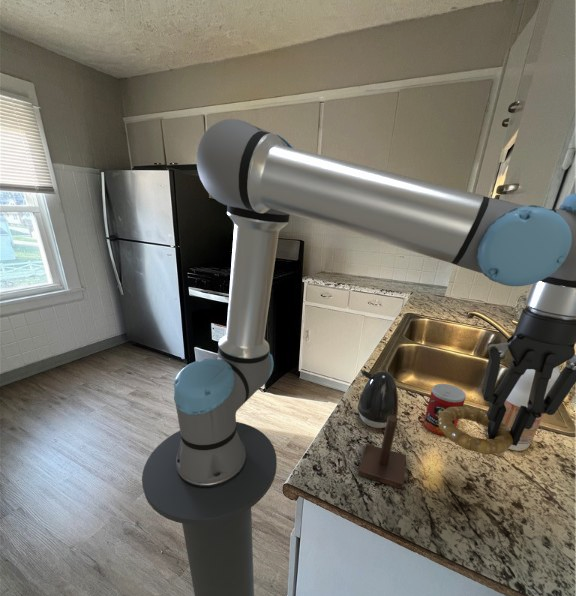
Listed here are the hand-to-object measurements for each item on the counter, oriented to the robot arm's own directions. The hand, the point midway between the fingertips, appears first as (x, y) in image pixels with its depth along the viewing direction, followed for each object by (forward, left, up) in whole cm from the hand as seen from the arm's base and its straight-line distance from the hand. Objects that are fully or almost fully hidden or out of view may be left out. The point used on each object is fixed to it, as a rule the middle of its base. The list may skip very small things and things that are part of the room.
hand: (501, 437), depth 56 cm
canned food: (-6, +22, -16) cm, 28 cm away
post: (-18, +1, -16) cm, 24 cm away
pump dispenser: (-22, +17, -16) cm, 32 cm away
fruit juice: (+10, +24, -16) cm, 30 cm away
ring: (-5, 0, 0) cm, 5 cm away
